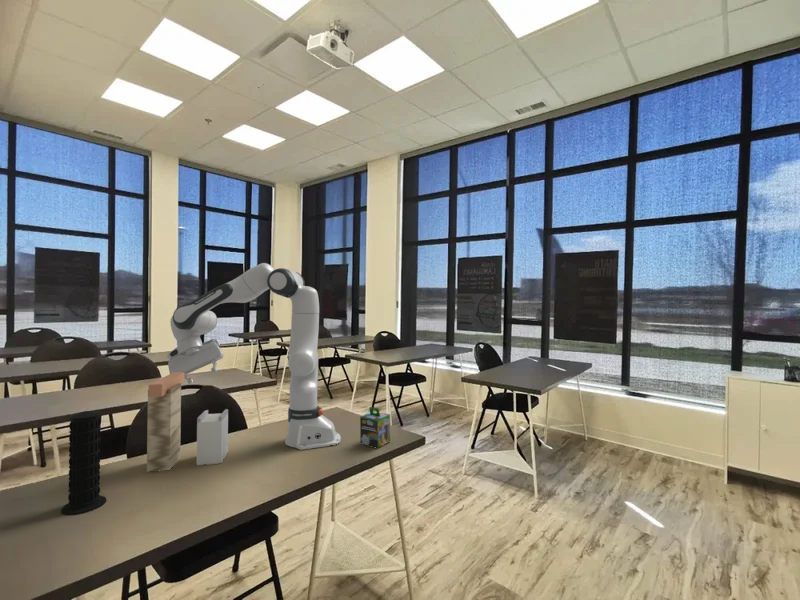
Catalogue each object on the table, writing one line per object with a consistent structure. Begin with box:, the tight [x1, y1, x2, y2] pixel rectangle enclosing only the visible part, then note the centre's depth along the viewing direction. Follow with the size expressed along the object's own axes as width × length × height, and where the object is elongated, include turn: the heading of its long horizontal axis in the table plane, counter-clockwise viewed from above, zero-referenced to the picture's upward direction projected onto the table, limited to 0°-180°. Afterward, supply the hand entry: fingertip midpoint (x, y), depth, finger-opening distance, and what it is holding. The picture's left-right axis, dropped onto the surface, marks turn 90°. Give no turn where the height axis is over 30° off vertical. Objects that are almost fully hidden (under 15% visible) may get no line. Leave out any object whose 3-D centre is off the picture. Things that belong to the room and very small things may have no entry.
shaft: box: [147, 372, 186, 398], centre depth 138 cm, size 4×22×4 cm, turn 12°
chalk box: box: [359, 406, 391, 449], centre depth 159 cm, size 9×9×15 cm
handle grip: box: [60, 410, 107, 516], centre depth 109 cm, size 10×26×10 cm
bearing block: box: [146, 383, 182, 472], centre depth 136 cm, size 7×10×28 cm
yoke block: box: [196, 408, 229, 466], centre depth 142 cm, size 8×10×16 cm
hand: (202, 377), depth 157 cm, fingers open, 8 cm apart
